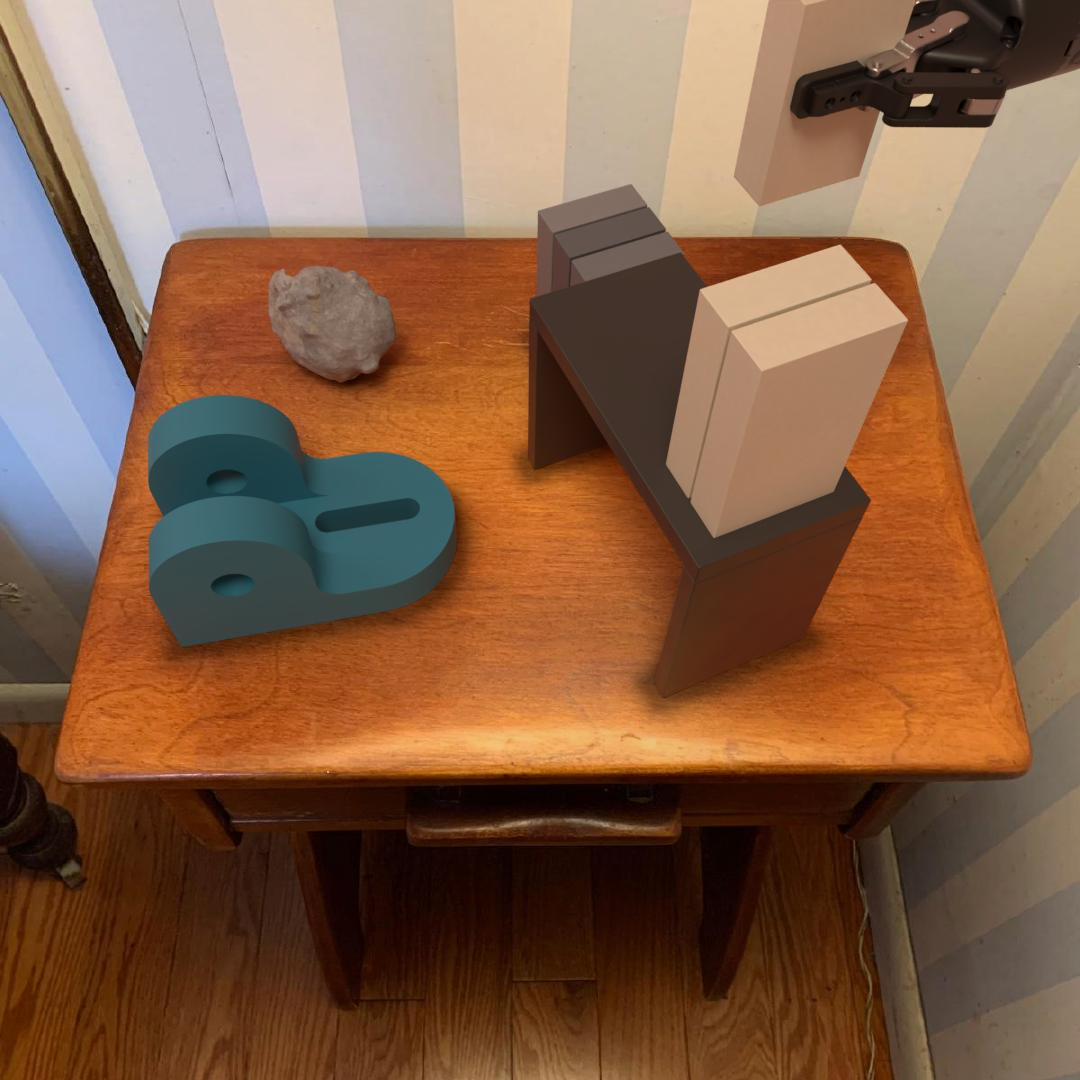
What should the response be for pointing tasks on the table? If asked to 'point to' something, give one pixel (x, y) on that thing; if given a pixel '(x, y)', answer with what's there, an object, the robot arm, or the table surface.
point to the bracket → (283, 525)
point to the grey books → (597, 238)
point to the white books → (778, 386)
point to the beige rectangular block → (784, 56)
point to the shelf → (642, 448)
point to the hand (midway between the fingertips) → (779, 80)
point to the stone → (331, 321)
